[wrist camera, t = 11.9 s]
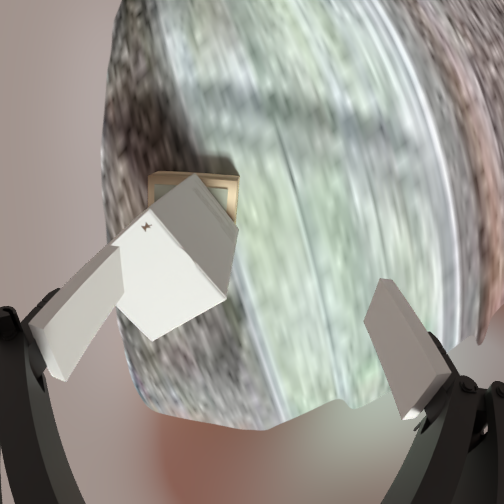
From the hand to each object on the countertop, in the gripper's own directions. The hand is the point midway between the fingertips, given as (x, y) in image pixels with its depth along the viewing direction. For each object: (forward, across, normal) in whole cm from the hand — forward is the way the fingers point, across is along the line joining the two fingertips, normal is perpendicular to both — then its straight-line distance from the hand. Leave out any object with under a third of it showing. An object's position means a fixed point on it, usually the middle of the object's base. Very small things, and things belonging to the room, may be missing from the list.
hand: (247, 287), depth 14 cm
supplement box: (+21, -8, -5) cm, 23 cm away
